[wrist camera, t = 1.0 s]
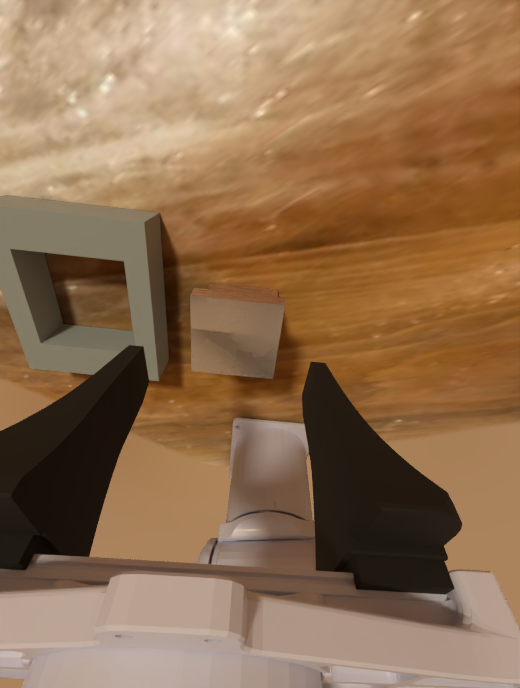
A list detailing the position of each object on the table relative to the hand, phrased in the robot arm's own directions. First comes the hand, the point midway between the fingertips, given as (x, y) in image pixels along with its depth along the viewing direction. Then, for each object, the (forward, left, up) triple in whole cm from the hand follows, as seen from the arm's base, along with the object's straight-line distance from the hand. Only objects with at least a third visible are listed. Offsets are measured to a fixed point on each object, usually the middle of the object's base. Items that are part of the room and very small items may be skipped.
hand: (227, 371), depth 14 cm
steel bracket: (-2, 0, -11) cm, 11 cm away
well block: (-2, +11, -11) cm, 16 cm away
